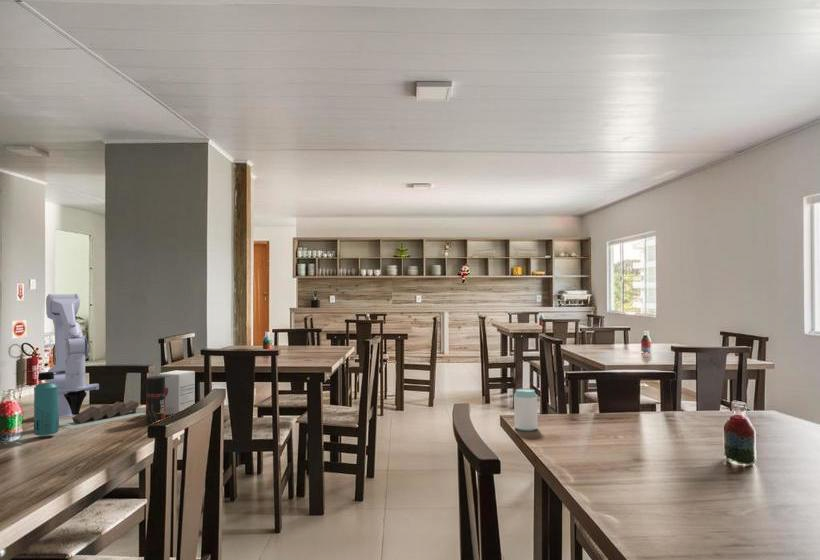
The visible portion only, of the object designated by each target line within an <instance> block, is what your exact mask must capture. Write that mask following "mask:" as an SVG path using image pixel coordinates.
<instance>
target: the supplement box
mask: <svg viewBox="0 0 820 560" xmlns="http://www.w3.org/2000/svg"><path fill="white" fill-rule="evenodd" d="M195 374H196V371H195V370H176V369H175V370H171V371H167V372H161V373H159V374H158V376H165V416H166V415H167V416H173V415H172V414H175V413H177V412H179V411H182V410H184V409H185V408H187V407H189V406H191V405H193V404H195V403H196V402H195V399H196V397H195V396H196V394H195V393H196V392H195V391H196V390H195V387H196V385H195V383H196V381H195V380H196V379H195V378H196V375H195Z"/></svg>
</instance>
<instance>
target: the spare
mask: <svg viewBox="0 0 820 560" xmlns="http://www.w3.org/2000/svg"><path fill="white" fill-rule="evenodd" d="M132 412H134V413H141V412H142V413H146V404H143V405H139V407H137V408H135V409H133V410H132Z"/></svg>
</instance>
